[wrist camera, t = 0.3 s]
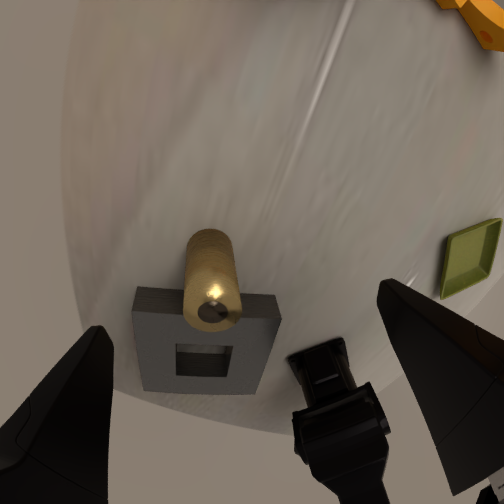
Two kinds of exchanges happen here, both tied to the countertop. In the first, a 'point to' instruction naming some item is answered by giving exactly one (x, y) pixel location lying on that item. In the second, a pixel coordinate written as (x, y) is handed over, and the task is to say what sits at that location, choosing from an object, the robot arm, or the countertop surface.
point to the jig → (199, 364)
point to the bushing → (211, 282)
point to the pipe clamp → (481, 20)
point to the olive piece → (469, 256)
